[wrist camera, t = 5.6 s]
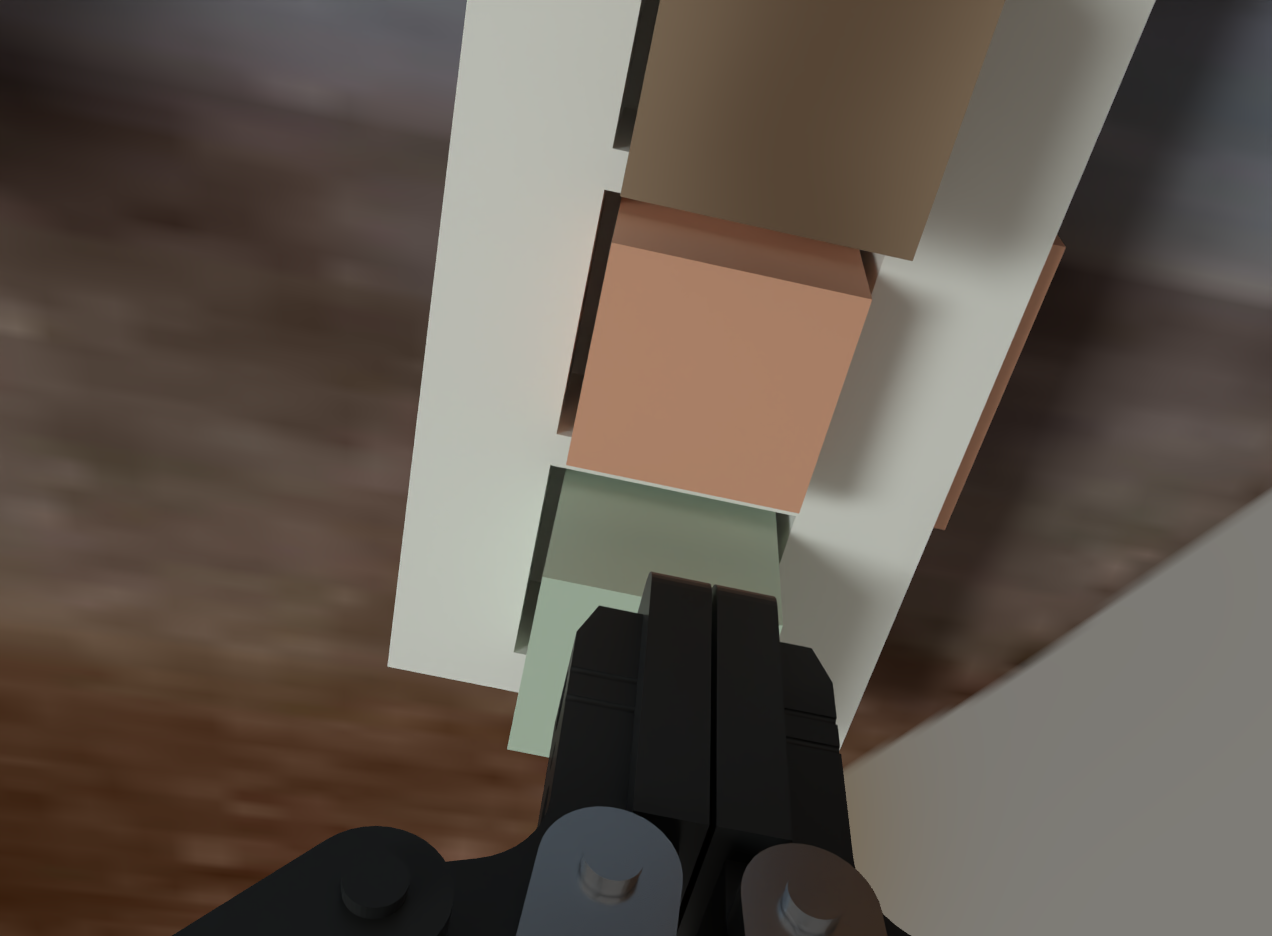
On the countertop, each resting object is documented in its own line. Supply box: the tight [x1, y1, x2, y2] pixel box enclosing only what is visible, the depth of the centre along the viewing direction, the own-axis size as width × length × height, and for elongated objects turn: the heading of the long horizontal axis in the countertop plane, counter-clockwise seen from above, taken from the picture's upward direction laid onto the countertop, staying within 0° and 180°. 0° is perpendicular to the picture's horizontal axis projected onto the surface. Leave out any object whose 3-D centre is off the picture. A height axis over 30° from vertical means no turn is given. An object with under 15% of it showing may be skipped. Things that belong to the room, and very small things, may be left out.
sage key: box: [507, 468, 783, 757], centre depth 22 cm, size 4×4×4 cm
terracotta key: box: [566, 197, 872, 514], centre depth 21 cm, size 4×4×4 cm
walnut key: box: [620, 0, 1005, 261], centre depth 17 cm, size 4×4×4 cm
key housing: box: [388, 0, 1156, 750], centre depth 22 cm, size 10×18×4 cm, turn 168°
